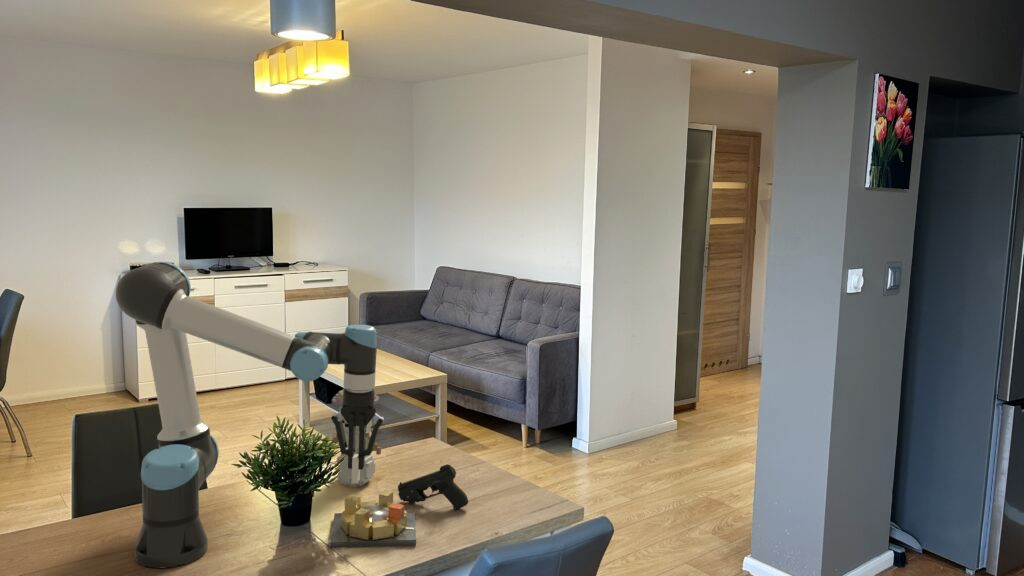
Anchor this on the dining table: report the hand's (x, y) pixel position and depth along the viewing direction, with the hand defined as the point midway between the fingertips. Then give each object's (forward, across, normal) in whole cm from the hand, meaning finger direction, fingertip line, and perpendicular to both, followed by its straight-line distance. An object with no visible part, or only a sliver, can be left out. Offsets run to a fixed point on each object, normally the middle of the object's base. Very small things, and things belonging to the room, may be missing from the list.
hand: (355, 481), depth 194 cm
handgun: (+11, -18, -14) cm, 25 cm away
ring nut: (+10, -6, +3) cm, 12 cm away
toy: (+12, +6, -28) cm, 31 cm away
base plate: (+11, -6, +3) cm, 13 cm away
